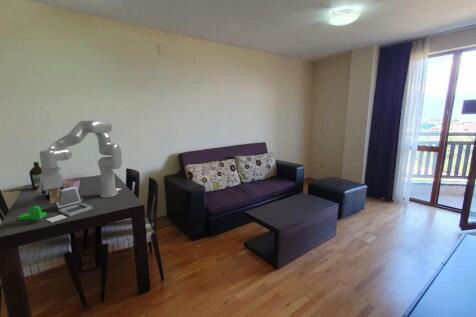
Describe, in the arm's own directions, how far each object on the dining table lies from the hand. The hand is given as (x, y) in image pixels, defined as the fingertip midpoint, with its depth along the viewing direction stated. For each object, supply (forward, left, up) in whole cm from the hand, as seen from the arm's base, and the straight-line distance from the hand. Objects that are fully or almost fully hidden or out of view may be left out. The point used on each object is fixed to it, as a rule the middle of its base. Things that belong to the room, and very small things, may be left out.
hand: (53, 199), depth 138 cm
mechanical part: (+6, -16, -14) cm, 22 cm away
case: (-13, -5, -13) cm, 19 cm away
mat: (0, 0, -13) cm, 13 cm away
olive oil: (-22, -86, -13) cm, 89 cm away
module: (0, 0, -2) cm, 2 cm away
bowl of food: (-26, -47, -13) cm, 55 cm away
